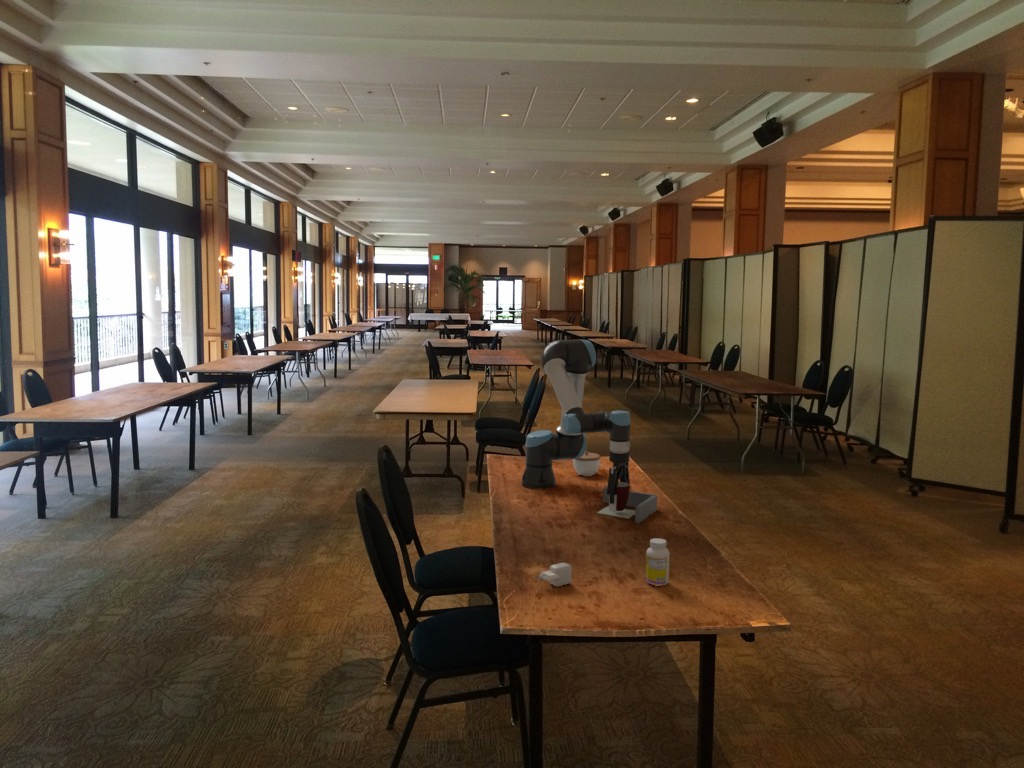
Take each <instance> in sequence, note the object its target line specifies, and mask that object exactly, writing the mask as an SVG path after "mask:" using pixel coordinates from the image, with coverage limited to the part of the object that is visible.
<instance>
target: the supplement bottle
mask: <svg viewBox="0 0 1024 768" xmlns="http://www.w3.org/2000/svg"><path fill="white" fill-rule="evenodd" d="M649 545H650V547H648V548H647V550H646V555H645V582H646V581H647V582H648V583H651V584H656V585H662V584H666V583H668V584H669V581H670V551H669V549H668V548H667V540H666V539H663V538H655V537H654V538H650V540H649ZM647 582H646V583H647ZM648 583H647V584H648Z"/></svg>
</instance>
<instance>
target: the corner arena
mask: <svg viewBox="0 0 1024 768" xmlns="http://www.w3.org/2000/svg"><path fill="white" fill-rule="evenodd" d="M607 487H608V486H604V487H603V490H602V491H603V493H602V494H603V495H602V498H603V499H602V500H603V501H602V503H604V504H609V495H608V494H607ZM626 507H628V508H629V507H630V508H635V510H634V509H627V508H624V510H623V511H616V512H611V511H609V505H608V506H605V507H603V508H602V509H600V510H599V511H597V514H600V515H607V516H612V517H617V518H622V519H630V518H632V517H633V516H634V523H636V524H640V523H641V522H643V521H644V520H645V519H647V518H648V517H650V516H652V514H654V513H655V512H657V511H658V494H654V493H648V492H640V491H633V490H630V491H629V497H628V502H627V505H626ZM656 510H657V511H656ZM649 515H650V516H649Z"/></svg>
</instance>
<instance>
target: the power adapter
mask: <svg viewBox="0 0 1024 768" xmlns="http://www.w3.org/2000/svg"><path fill="white" fill-rule="evenodd" d="M572 570H573V569H572V566H571V565H570V564H569V563H567V562H560V563H554V564H551V565H550V566H549V570H545V571H541V573H540V574H539V575H534V579H538V578H539V581H540V582H543V581H547V582H549V584H550V583H551V584H553V585H554V586H553V585H552V586H553V587H555V586H560V585H564V584H568V583H570V584H572V577H573V575H572V574H573V573H572V572H573V571H572ZM551 584H550V585H551Z"/></svg>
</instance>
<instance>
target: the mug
mask: <svg viewBox="0 0 1024 768" xmlns="http://www.w3.org/2000/svg"><path fill="white" fill-rule="evenodd" d="M630 485H631V483H630V484H628V483H625V482H620V481H618V486H617V487H616V495H617V502H616V511H623V510H624V509H626V507H627V506H626V505H627V502H628V497H629V491H631V490H630V487H631V486H630Z"/></svg>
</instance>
